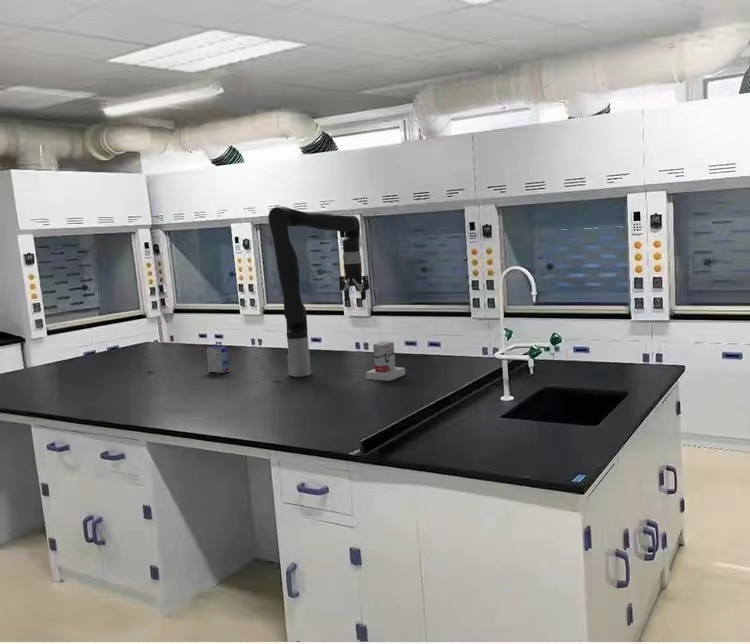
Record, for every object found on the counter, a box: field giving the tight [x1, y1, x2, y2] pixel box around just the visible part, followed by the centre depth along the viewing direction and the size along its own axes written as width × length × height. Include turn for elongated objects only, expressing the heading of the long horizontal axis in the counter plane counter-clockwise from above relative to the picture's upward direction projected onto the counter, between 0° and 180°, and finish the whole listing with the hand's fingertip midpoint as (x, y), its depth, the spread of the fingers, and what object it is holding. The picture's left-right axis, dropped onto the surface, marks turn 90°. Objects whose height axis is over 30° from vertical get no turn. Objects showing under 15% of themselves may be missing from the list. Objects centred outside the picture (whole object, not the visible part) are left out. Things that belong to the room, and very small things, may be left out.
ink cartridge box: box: [206, 341, 231, 372], centre depth 350 cm, size 10×6×14 cm, turn 58°
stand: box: [365, 366, 406, 382], centre depth 313 cm, size 12×12×3 cm
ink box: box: [372, 340, 396, 372], centre depth 312 cm, size 9×5×12 cm, turn 142°
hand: (355, 299), depth 317 cm, fingers open, 8 cm apart
